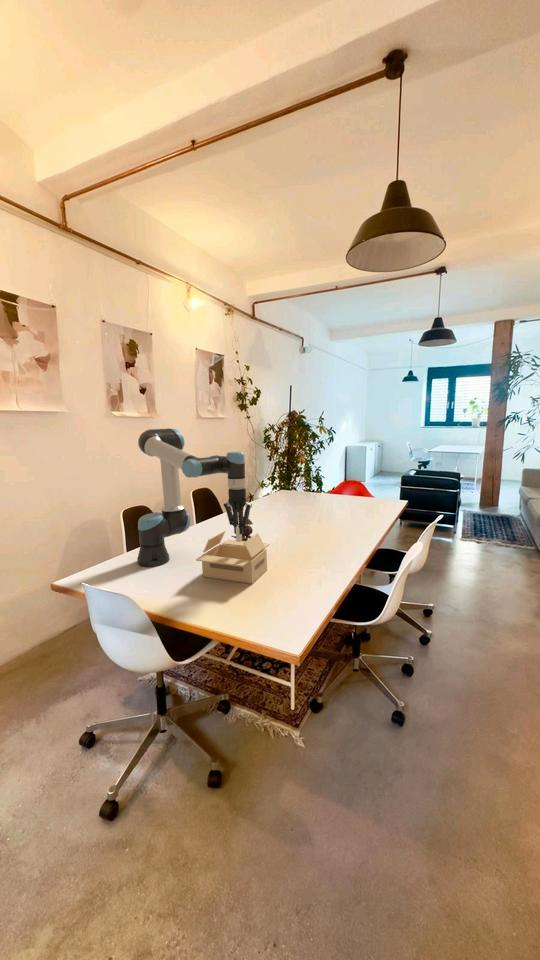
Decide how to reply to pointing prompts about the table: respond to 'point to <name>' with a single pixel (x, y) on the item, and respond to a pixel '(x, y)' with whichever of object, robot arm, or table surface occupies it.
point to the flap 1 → (214, 541)
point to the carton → (234, 563)
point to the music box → (246, 531)
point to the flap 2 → (254, 545)
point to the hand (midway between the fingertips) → (239, 540)
